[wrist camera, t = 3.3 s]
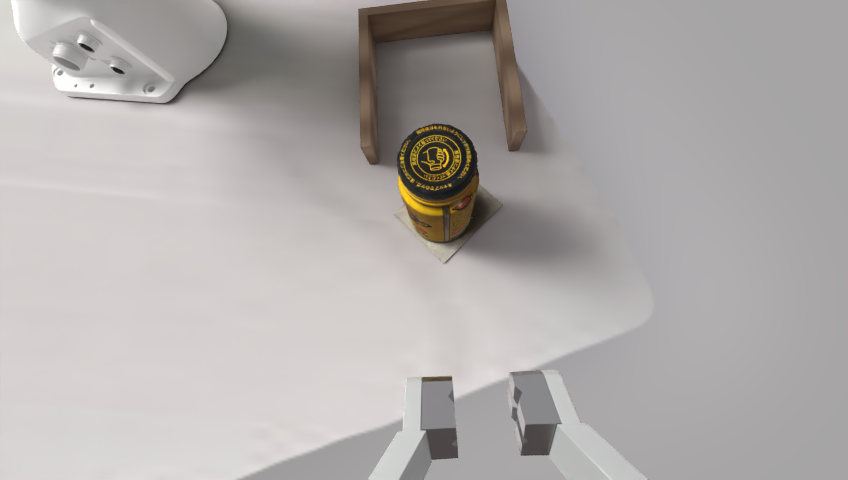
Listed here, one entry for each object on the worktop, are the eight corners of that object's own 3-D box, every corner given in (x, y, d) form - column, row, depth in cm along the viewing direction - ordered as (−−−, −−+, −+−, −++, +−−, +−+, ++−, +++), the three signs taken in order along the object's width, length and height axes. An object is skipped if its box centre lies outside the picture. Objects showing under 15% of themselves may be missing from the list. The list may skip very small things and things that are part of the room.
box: (518, 150, 32) (527, 130, 28) (369, 163, 32) (360, 147, 29) (498, 21, 35) (504, -9, 32) (366, 37, 36) (358, 8, 33)
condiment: (393, 214, 31) (362, 157, 19) (451, 160, 32) (453, 75, 20) (443, 263, 29) (442, 234, 18) (502, 205, 30) (537, 141, 19)
